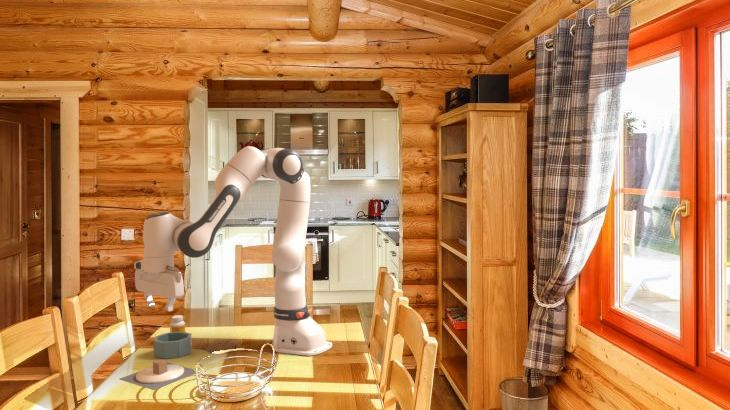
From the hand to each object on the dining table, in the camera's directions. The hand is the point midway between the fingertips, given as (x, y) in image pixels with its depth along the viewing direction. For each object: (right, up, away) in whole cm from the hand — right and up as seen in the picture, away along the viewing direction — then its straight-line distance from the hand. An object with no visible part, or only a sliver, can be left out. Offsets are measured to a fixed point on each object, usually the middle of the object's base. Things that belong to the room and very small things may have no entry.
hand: (159, 308), depth 168 cm
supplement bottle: (-6, -19, +34) cm, 40 cm away
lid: (0, -21, 0) cm, 21 cm away
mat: (0, -21, 0) cm, 21 cm away
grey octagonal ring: (-3, -20, +21) cm, 29 cm away
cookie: (+13, -20, +26) cm, 35 cm away
